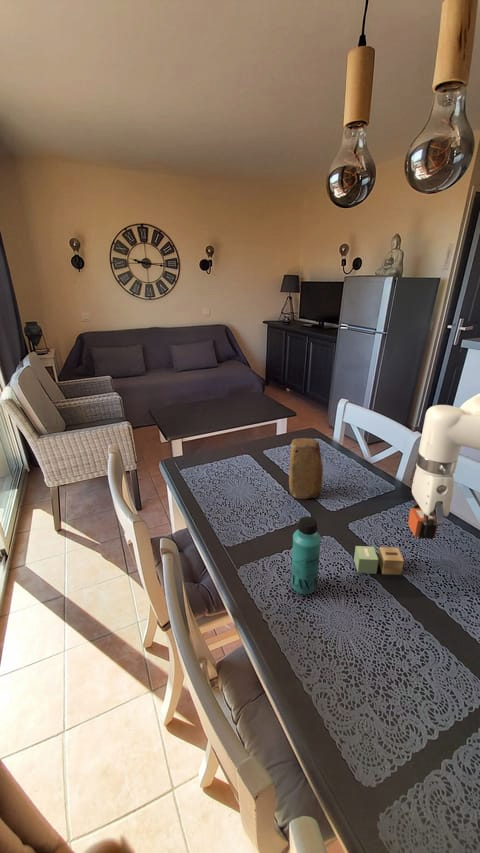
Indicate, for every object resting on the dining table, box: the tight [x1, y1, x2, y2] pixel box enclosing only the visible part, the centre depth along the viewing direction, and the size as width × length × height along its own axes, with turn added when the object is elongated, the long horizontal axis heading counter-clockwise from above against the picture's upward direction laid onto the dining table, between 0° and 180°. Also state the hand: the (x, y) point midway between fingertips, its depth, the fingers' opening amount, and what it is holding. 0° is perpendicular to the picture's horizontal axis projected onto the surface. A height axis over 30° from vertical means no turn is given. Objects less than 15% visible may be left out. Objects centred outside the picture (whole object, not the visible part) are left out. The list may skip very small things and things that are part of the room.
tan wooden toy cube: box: [377, 546, 405, 576], centre depth 91 cm, size 5×5×5 cm
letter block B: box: [353, 545, 379, 575], centre depth 91 cm, size 5×5×5 cm
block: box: [288, 437, 324, 500], centre depth 119 cm, size 11×8×20 cm
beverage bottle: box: [289, 515, 322, 595], centre depth 83 cm, size 6×7×20 cm
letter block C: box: [407, 507, 439, 538], centre depth 84 cm, size 5×5×5 cm
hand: (421, 529), depth 85 cm, fingers closed on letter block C, 4 cm apart
